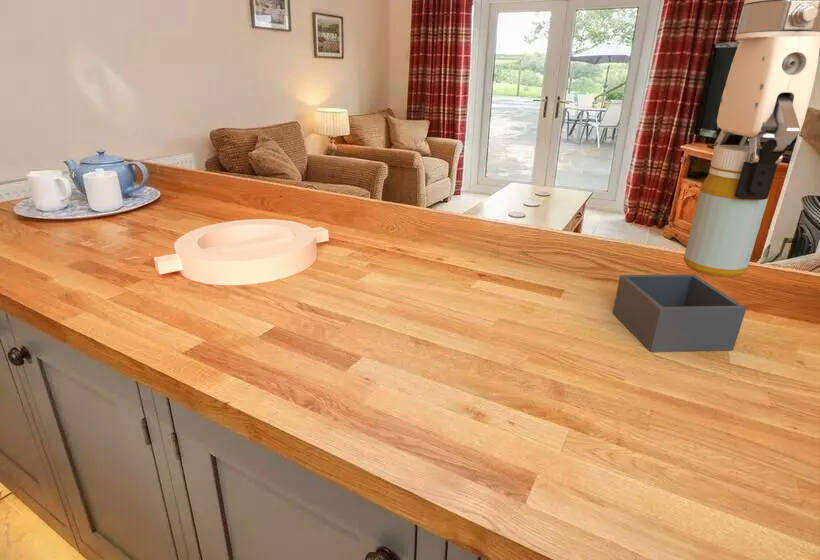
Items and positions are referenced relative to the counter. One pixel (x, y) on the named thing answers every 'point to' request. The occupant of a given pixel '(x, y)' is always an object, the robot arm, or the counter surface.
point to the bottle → (724, 218)
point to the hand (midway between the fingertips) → (734, 189)
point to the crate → (677, 313)
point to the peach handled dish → (244, 252)
